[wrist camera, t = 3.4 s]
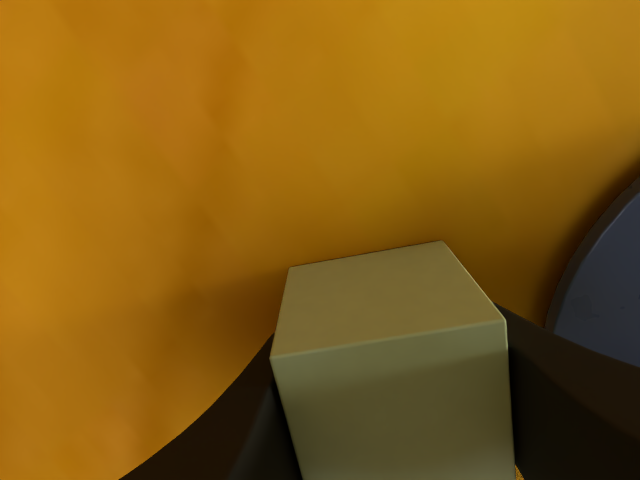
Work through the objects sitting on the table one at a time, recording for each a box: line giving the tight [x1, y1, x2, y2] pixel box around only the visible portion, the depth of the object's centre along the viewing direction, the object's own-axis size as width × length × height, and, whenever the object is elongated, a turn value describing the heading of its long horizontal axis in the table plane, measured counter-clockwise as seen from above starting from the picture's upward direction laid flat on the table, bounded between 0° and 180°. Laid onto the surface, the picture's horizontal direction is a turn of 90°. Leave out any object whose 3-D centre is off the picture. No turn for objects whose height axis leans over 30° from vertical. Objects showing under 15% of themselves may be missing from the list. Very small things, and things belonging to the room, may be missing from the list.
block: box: [269, 241, 516, 480], centre depth 10 cm, size 4×4×4 cm
